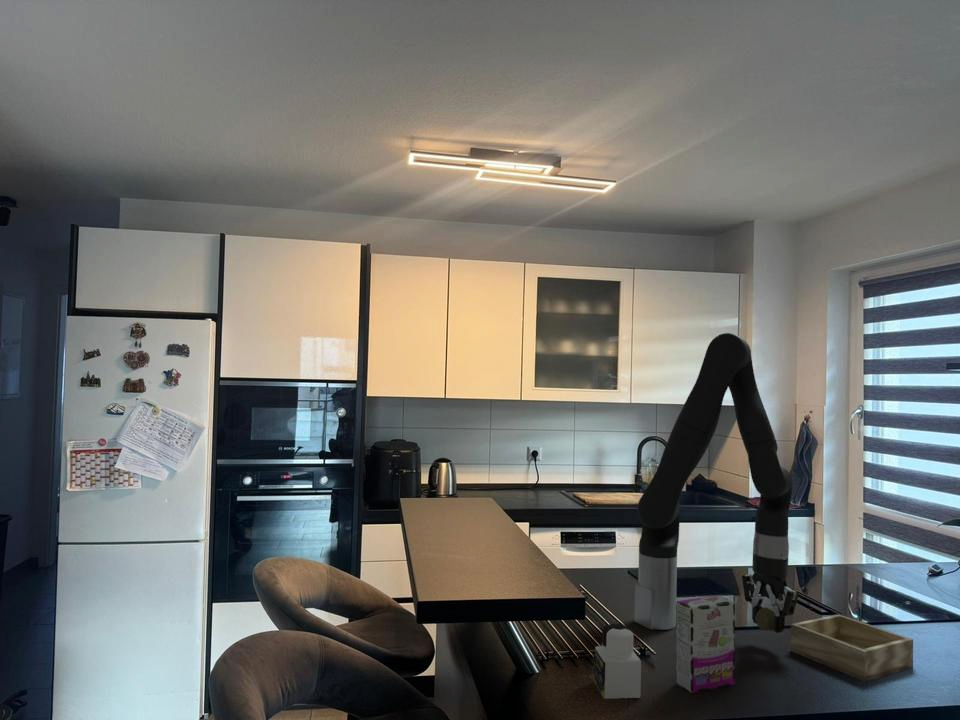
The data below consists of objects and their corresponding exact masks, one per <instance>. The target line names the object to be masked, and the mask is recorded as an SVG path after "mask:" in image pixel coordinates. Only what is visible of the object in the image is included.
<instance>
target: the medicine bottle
mask: <svg viewBox="0 0 960 720" xmlns="http://www.w3.org/2000/svg"><path fill="white" fill-rule="evenodd" d="M601 634H602V635H601V646H600V645H599V646H598V645H597V646H595V648H594V674H593V675H594V676H593V677H594V679H593V680H594V684H595V685H596V688H597V689H598V691H599V693H600V694H601V696H602V698H603V699H605V700H613V699H616V700H617V699H618V700H619V699H620V698H621V699H622V698H625V700H627V698H639V699H641V693H642V692H641V691H642V690H641V689H642V686H641V684H642V683H641V681H642V680H641V678H642V676H641V675H642V661H641V659H640V658H639V656H638V655H637V654H636V652H635V651H634V650H635V647H634V646H635V632H634V630H633V629H632V628H631V627H629V626H628V625H626V624H625V625H624V624H619V623H611V624H607V625H605V626H603V628H602V629H601Z"/></svg>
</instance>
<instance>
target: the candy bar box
mask: <svg viewBox="0 0 960 720" xmlns="http://www.w3.org/2000/svg"><path fill="white" fill-rule="evenodd" d="M735 602H736V601H734V600H731V599H729V598H727V597H724V596H722V595H718V594H717V595H711V596H702V597H697V598H696V597H695V598H690V599H683V600H681V599H680V600H676V626H675V627H676V628H675V629H676V633H675V634H676V639H675V640H676V642H675V643H676V644H675V645H676V647H675V648H676V657H675V658H676V665H675V667H676V673H675V675H676V676H675V677H676V679H675V680H676V681H675V682H676V684H677V685H678V686H679V687H681V688H683V689H684V690H686V691H688V692H689V693H691V694H695V693H701V692H706V691H711V690H716V689H721V688H725V687H728V686H729V687H730V686H734V685H735V684H736V664H735V663H736V643H735V642H736V641H735V640H736V636H735V635H736V634H735V633H736V626H735V625H736V624H735V622H736V618H735V617H736V611H735V610H736V608H735V607H736V606H735V604H736V603H735Z"/></svg>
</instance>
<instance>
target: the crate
mask: <svg viewBox="0 0 960 720" xmlns="http://www.w3.org/2000/svg"><path fill="white" fill-rule="evenodd" d="M790 652H791V653H795V654H798V655H799V656H802V657H804V658H807V659H809V660H811V661H814V662H816V663H819V664H821V665H823V666H825V667H828V668H830V669H833V670H835V671H838V672H840V673H843V674H845V675H847V676H850V677H851V678H855V679H857V680H860V681H862V682H863V683H866V682H868V681H872V680H876V679H879V678H882V677H886V676H889V675H893V674H896V673H900V672H903V671H906V670H909V669H913V668H914V639H913V638H910V637H906V636H904V635H901V634H898V633H895V632H893V631H890V630H887V629H883V628H881V627H878V626H875V625H872V624H869V623H867V622H863V621H860V620H857V619H853V618H852V617H848V616H846V615H845V616H844V615H842V614H840V613H839V614H833V615H828V616H824V617H820V618H814V619H809V620H805V621H799V622H795V623H791V624H790Z"/></svg>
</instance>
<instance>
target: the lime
mask: <svg viewBox="0 0 960 720" xmlns="http://www.w3.org/2000/svg"><path fill="white" fill-rule="evenodd" d="M774 615H775V612H774V609H772V608H769V607H766V606H765V607H763V608H762V609H760V610H759V611H758V612H757V614H756V623H757V624H756V625H757V627H758V628H759V629H760V630H761V631H763V632H772V631H773V632H774Z"/></svg>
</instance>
